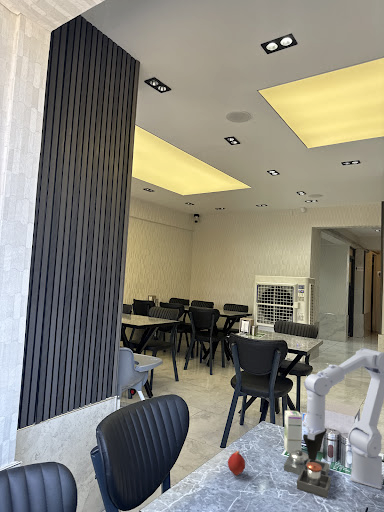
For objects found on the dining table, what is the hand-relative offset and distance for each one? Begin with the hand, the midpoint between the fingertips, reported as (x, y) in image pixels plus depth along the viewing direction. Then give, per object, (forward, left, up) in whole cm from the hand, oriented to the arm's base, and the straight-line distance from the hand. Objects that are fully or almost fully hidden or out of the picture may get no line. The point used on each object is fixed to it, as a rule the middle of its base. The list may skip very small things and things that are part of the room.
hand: (314, 454), depth 118 cm
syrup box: (+12, -23, -10) cm, 28 cm away
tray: (0, 0, -10) cm, 10 cm away
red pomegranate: (+24, +8, -10) cm, 27 cm away
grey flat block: (+4, -10, -10) cm, 14 cm away
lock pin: (0, 0, -9) cm, 9 cm away
